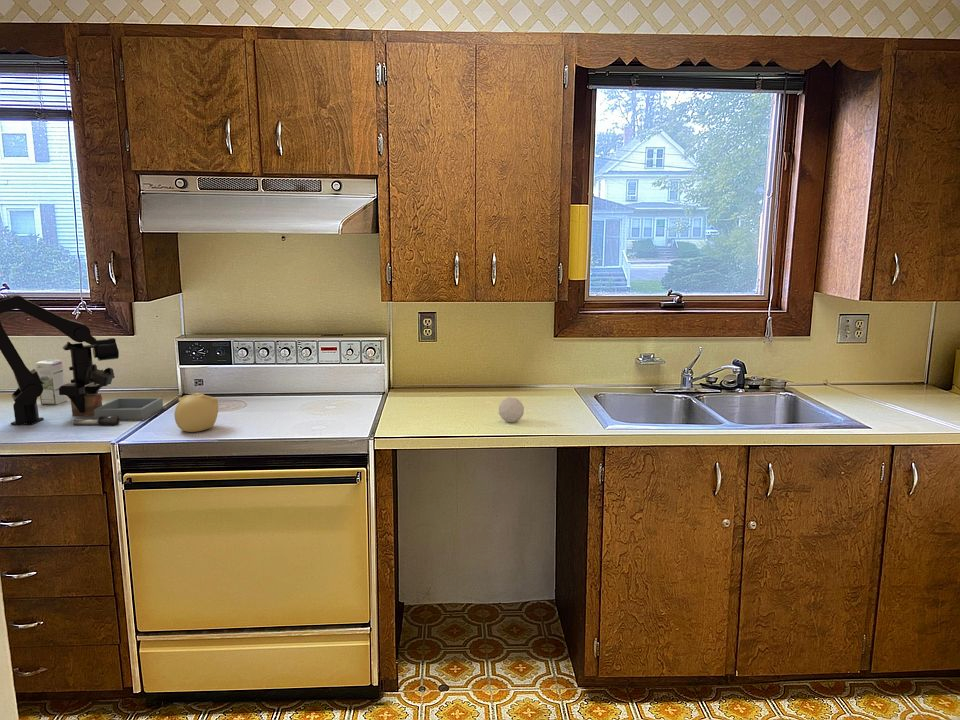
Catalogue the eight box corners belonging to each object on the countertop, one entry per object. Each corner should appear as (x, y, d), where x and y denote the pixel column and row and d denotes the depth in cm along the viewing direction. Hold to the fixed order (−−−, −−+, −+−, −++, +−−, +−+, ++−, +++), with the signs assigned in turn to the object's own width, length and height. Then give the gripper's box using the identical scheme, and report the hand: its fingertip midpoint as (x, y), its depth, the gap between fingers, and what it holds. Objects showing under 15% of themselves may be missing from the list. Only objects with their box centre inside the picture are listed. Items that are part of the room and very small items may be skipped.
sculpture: (224, 423, 213) (221, 389, 211) (209, 435, 201) (206, 398, 199) (186, 423, 213) (183, 389, 211) (169, 435, 201) (166, 398, 199)
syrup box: (67, 400, 241) (62, 359, 238) (55, 405, 235) (50, 362, 232) (52, 400, 241) (47, 359, 239) (39, 404, 236) (34, 362, 233)
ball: (517, 431, 214) (527, 414, 209) (493, 423, 213) (503, 406, 208) (519, 413, 220) (529, 397, 215) (495, 405, 219) (505, 388, 214)
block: (95, 416, 222) (92, 397, 221) (72, 416, 222) (70, 397, 221) (103, 411, 227) (101, 393, 226) (81, 411, 227) (79, 393, 226)
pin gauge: (119, 423, 213) (118, 415, 213) (115, 425, 211) (114, 417, 210) (76, 423, 213) (75, 415, 213) (72, 426, 210) (71, 417, 210)
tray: (142, 420, 216) (141, 409, 216) (95, 420, 216) (93, 409, 216) (163, 408, 231) (162, 397, 230) (118, 408, 231) (117, 398, 230)
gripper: (91, 368, 212) (97, 418, 215) (122, 357, 231) (126, 403, 234) (54, 368, 212) (60, 418, 215) (88, 357, 230) (93, 403, 233)
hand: (87, 410), depth 224 cm, fingers open, 6 cm apart
